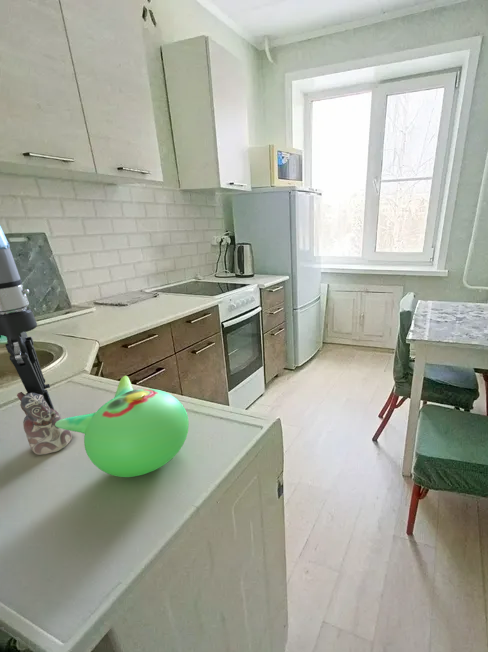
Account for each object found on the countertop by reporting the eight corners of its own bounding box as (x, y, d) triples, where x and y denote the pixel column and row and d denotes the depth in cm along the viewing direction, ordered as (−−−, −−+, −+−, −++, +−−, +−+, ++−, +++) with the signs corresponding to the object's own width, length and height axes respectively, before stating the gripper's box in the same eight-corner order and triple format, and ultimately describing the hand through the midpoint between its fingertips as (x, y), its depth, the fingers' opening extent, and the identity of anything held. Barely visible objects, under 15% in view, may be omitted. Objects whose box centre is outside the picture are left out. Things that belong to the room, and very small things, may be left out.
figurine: (44, 459, 68) (16, 407, 62) (26, 449, 72) (-4, 399, 66) (79, 437, 74) (55, 388, 68) (59, 429, 77) (35, 381, 71)
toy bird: (149, 505, 56) (127, 426, 50) (71, 483, 61) (42, 410, 55) (209, 442, 71) (198, 375, 65) (142, 429, 77) (126, 366, 70)
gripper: (28, 314, 62) (69, 427, 72) (33, 301, 72) (69, 402, 82) (-26, 321, 59) (26, 439, 69) (-13, 307, 69) (31, 411, 79)
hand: (49, 419), depth 75 cm, fingers closed
